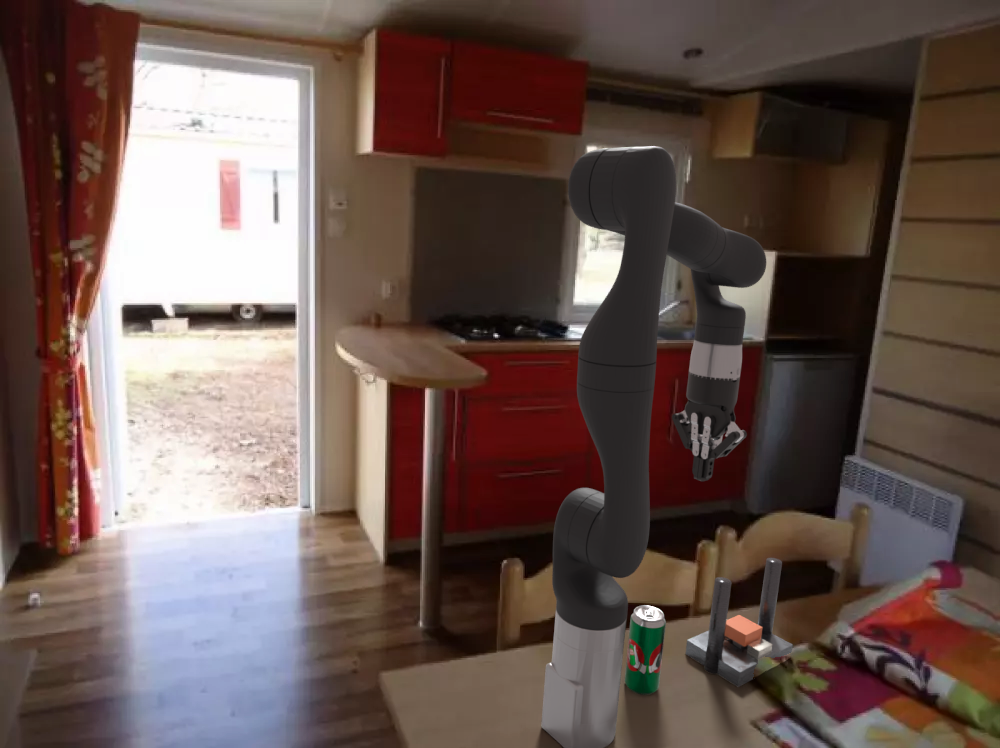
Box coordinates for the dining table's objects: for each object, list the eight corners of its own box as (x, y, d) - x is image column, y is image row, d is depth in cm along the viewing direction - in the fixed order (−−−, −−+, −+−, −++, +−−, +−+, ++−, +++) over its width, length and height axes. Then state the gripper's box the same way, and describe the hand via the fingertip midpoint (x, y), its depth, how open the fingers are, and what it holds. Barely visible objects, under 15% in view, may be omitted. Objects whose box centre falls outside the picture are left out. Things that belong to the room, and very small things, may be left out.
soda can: (656, 677, 108) (664, 605, 106) (660, 698, 104) (668, 623, 101) (623, 674, 109) (630, 602, 107) (625, 695, 104) (632, 620, 102)
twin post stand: (734, 689, 107) (746, 597, 104) (681, 655, 115) (691, 569, 112) (793, 656, 116) (806, 571, 113) (741, 628, 124) (752, 547, 121)
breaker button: (742, 661, 112) (745, 635, 111) (719, 647, 116) (722, 622, 115) (759, 652, 115) (762, 627, 114) (735, 639, 118) (739, 614, 117)
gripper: (664, 365, 112) (653, 470, 115) (736, 381, 101) (721, 497, 104) (695, 362, 116) (684, 463, 119) (767, 378, 105) (752, 489, 109)
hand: (701, 479), depth 112 cm, fingers closed
